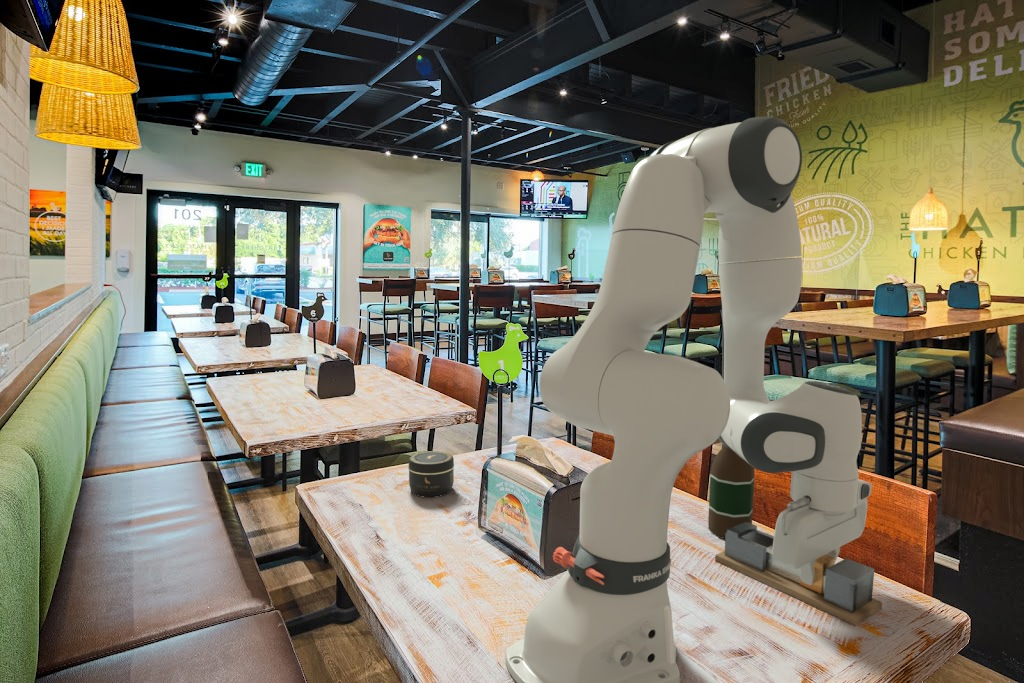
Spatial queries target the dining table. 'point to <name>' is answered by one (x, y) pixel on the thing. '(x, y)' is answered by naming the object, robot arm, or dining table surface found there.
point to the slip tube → (795, 574)
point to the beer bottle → (730, 492)
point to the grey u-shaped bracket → (748, 545)
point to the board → (801, 591)
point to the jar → (431, 473)
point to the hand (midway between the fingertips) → (817, 577)
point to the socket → (849, 585)
